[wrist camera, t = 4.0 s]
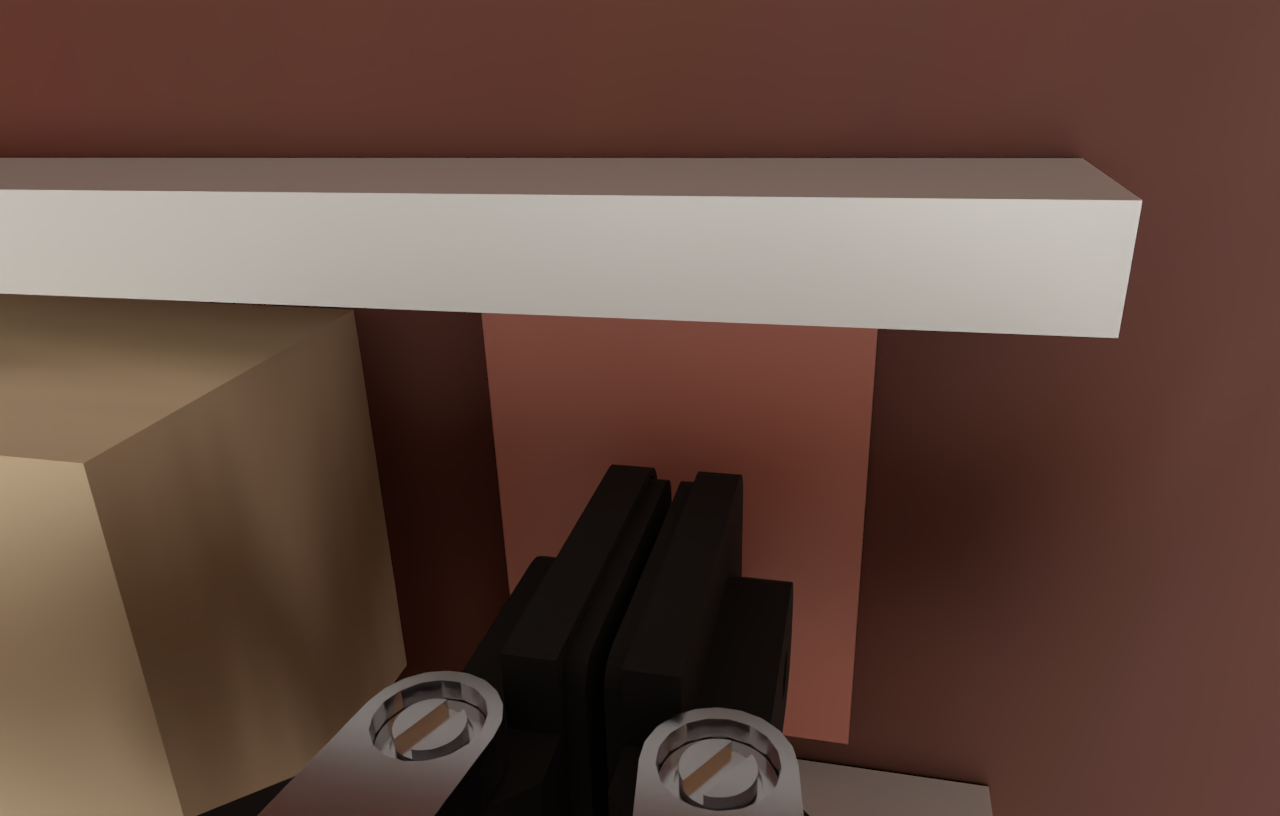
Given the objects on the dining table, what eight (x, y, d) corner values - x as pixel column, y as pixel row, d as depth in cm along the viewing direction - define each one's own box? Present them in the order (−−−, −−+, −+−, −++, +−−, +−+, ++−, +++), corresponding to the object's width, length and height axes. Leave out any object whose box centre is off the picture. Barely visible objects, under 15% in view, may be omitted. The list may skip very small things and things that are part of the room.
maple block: (410, 659, 15) (216, 930, 11) (100, 617, 16) (-189, 843, 12) (358, 307, 13) (83, 463, 8) (3, 291, 14) (-400, 418, 10)
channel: (979, 848, 14) (998, 1010, 12) (-94, 679, 18) (-229, 772, 16) (1081, 158, 10) (1143, 200, 8) (-310, 157, 14) (-529, 184, 12)
